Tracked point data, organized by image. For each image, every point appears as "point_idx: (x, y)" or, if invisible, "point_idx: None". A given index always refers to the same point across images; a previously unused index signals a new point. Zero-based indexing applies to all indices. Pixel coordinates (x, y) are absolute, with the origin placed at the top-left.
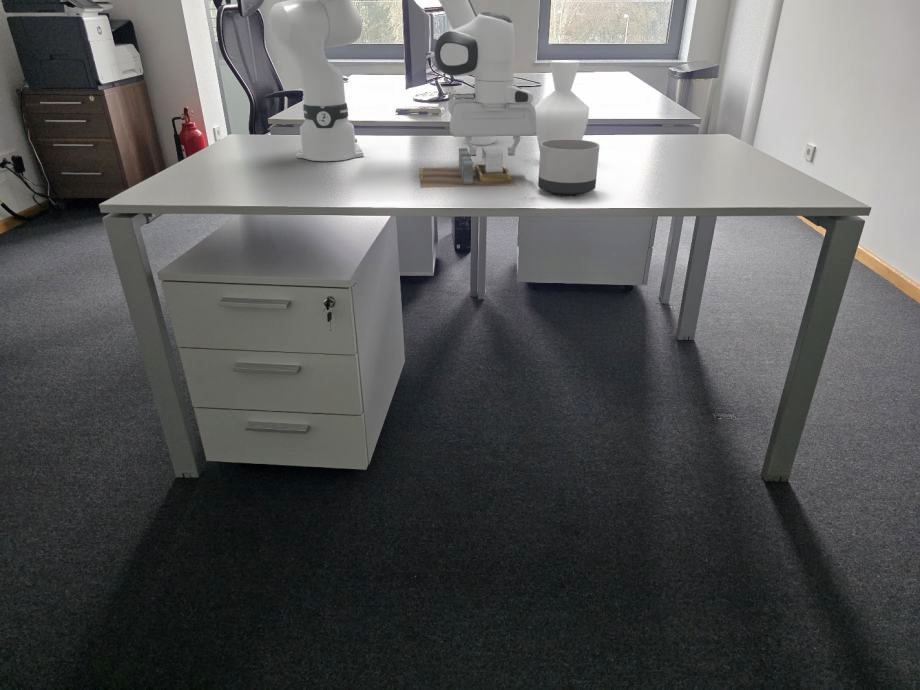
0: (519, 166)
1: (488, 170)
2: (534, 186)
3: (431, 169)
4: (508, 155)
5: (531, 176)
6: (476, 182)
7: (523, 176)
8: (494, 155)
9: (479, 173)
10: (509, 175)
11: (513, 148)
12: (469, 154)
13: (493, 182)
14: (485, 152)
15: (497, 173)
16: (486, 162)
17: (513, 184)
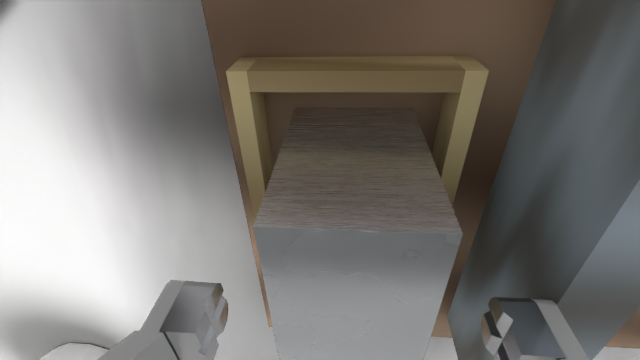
0: (218, 346)
1: (400, 137)
2: (89, 24)
3: (624, 325)
4: (221, 285)
5: (152, 230)
6: (511, 21)
7: (189, 234)
8: (355, 212)
9: (472, 122)
10: (236, 68)
11: (154, 329)
12: None
13: (373, 9)
14: (449, 274)
15: (327, 125)
16: (431, 173)
17: None
